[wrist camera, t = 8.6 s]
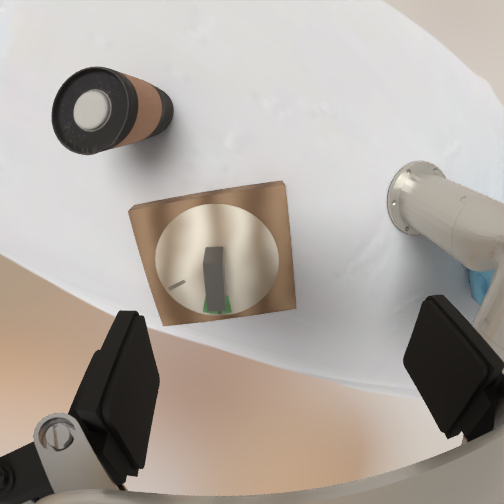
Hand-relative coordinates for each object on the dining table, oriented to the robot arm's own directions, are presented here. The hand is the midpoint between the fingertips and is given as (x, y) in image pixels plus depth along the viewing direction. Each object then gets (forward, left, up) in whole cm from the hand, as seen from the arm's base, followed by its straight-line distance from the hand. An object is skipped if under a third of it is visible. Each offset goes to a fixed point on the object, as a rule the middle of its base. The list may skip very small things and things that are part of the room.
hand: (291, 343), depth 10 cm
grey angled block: (+6, +15, -32) cm, 36 cm away
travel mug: (+12, -10, -36) cm, 40 cm away
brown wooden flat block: (+6, +13, -36) cm, 39 cm away
